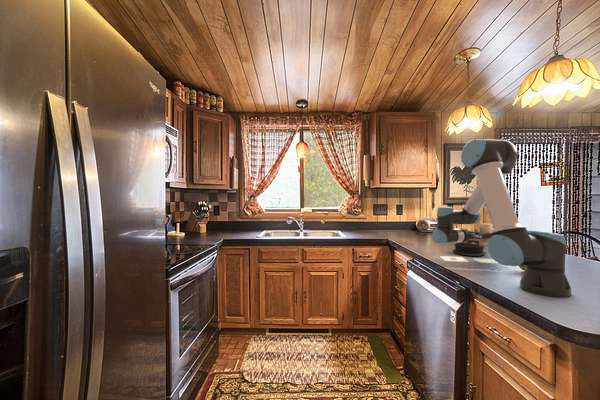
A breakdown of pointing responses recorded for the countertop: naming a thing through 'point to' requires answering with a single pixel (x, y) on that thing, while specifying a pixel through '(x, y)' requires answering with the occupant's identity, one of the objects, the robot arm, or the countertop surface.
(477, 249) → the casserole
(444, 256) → the board
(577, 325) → the countertop surface
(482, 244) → the maple post
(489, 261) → the sage pad
